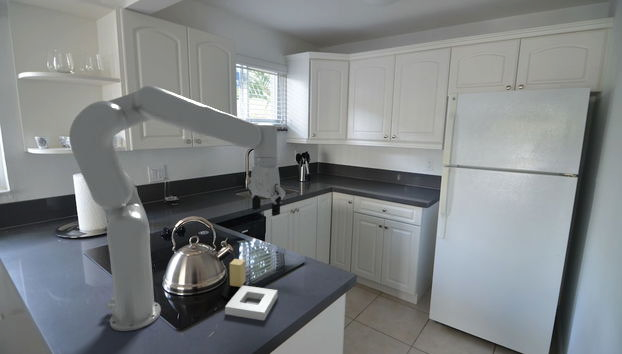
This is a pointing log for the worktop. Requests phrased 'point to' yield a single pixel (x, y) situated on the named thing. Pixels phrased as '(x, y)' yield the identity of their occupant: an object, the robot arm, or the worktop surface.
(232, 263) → the plug block
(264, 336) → the worktop surface
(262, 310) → the socket housing
